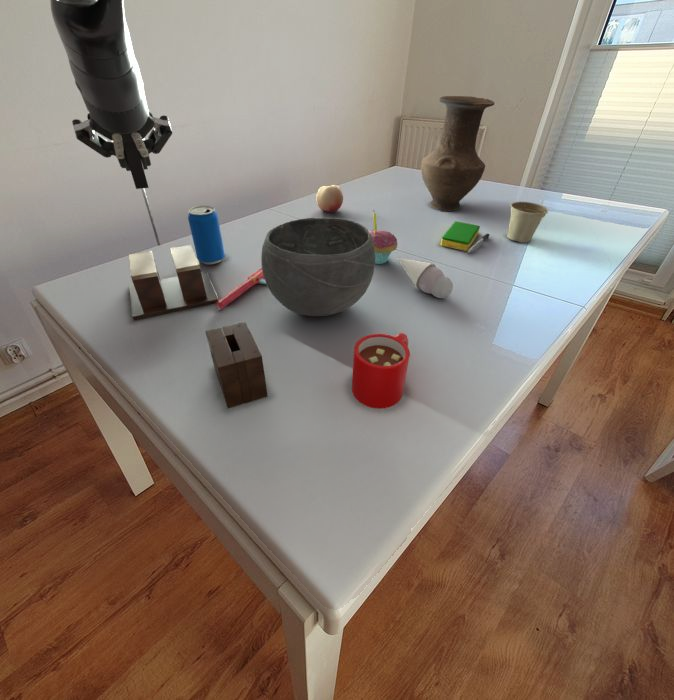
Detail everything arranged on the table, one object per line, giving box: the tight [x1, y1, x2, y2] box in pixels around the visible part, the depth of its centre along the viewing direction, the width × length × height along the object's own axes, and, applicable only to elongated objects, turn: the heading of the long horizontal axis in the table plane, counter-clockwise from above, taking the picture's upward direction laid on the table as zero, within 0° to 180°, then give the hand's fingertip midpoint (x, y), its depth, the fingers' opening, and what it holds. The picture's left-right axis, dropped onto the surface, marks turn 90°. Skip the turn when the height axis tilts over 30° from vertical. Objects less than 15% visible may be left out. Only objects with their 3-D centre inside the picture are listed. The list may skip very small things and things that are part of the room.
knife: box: [467, 233, 490, 254], centre depth 99 cm, size 15×1×2 cm, turn 143°
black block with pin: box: [123, 142, 161, 246], centre depth 66 cm, size 2×3×17 cm, turn 25°
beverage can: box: [187, 205, 226, 265], centre depth 88 cm, size 6×6×12 cm
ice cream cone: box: [397, 257, 454, 299], centre depth 81 cm, size 6×6×15 cm
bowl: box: [260, 217, 376, 317], centre depth 72 cm, size 21×21×15 cm
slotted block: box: [128, 244, 220, 322], centre depth 76 cm, size 16×13×8 cm
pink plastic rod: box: [216, 267, 267, 311], centre depth 82 cm, size 24×2×5 cm
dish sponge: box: [440, 221, 481, 252], centre depth 103 cm, size 7×14×2 cm, turn 152°
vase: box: [420, 95, 495, 212], centre depth 116 cm, size 19×19×30 cm
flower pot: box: [506, 201, 550, 243], centre depth 103 cm, size 9×9×9 cm
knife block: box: [205, 321, 268, 410], centre depth 56 cm, size 6×9×8 cm, turn 25°
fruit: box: [315, 184, 344, 213], centre depth 117 cm, size 8×8×8 cm
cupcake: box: [369, 209, 398, 265], centre depth 90 cm, size 9×8×12 cm
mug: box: [351, 332, 411, 410], centre depth 57 cm, size 8×12×8 cm, turn 146°
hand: (135, 165), depth 64 cm, fingers closed on black block with pin, 2 cm apart
